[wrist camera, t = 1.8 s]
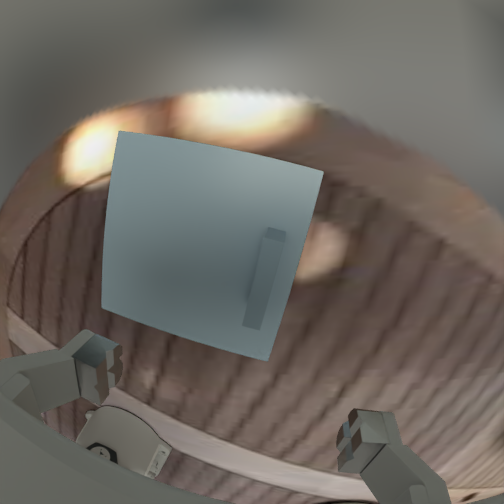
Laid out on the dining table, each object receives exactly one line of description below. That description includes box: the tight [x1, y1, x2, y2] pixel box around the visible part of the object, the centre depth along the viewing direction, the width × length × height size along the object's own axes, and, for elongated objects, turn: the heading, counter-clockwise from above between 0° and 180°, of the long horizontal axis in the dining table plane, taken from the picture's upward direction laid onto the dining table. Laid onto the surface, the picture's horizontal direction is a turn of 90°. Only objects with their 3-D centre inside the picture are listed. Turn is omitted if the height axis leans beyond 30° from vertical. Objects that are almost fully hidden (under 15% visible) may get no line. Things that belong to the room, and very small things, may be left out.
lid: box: [102, 131, 324, 362], centre depth 21 cm, size 15×15×5 cm
